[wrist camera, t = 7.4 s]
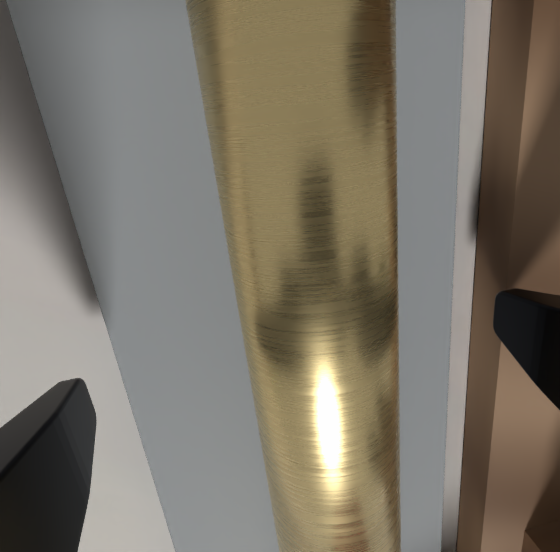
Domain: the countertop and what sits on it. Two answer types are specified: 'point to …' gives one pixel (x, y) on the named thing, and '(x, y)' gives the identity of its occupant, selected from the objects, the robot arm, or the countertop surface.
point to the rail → (313, 251)
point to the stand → (514, 274)
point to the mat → (215, 258)
